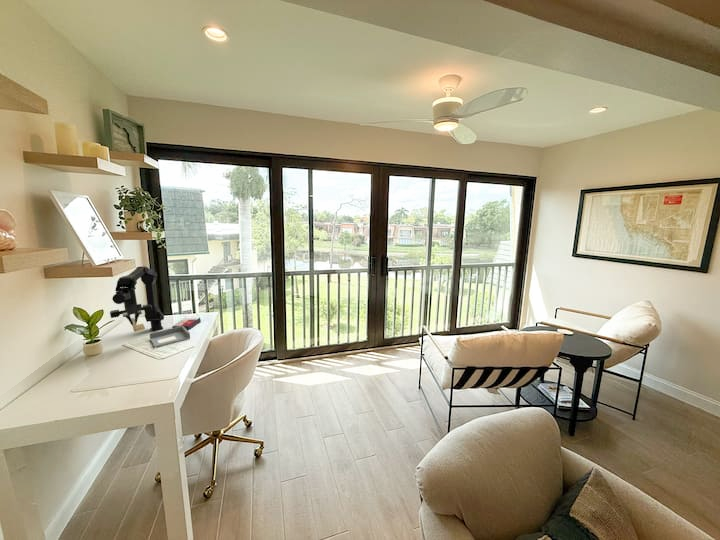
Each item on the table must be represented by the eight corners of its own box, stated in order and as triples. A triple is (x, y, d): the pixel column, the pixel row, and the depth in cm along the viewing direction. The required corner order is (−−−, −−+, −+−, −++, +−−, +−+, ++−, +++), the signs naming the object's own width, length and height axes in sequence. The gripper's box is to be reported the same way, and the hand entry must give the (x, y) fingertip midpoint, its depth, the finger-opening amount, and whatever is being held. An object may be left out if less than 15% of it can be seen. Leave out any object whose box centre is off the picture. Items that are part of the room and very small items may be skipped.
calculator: (171, 325, 190) (184, 316, 204) (172, 331, 191) (185, 322, 205) (188, 325, 190) (200, 316, 204) (189, 331, 191) (201, 322, 205)
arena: (150, 339, 176) (149, 333, 176) (183, 331, 189) (183, 325, 188) (154, 348, 165) (153, 341, 164) (190, 338, 177) (189, 332, 176)
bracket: (132, 327, 170) (131, 318, 169) (143, 325, 173) (141, 316, 172) (134, 331, 164) (132, 321, 163) (145, 329, 167) (143, 319, 166)
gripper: (108, 305, 152) (113, 333, 155) (151, 298, 164) (155, 324, 167) (107, 301, 160) (112, 327, 163) (149, 294, 172) (152, 319, 175)
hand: (134, 325), depth 167 cm, fingers closed on bracket
